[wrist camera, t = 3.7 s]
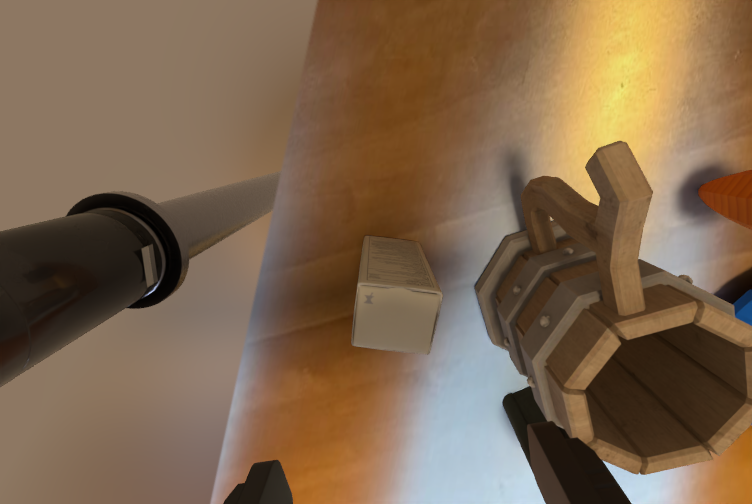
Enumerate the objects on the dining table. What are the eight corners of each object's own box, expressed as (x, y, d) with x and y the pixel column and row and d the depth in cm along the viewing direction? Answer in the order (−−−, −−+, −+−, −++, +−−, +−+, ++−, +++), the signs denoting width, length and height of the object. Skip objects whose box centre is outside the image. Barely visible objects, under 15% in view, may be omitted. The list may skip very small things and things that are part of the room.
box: (358, 279, 32) (344, 346, 21) (364, 233, 31) (353, 281, 20) (415, 286, 32) (431, 358, 21) (424, 241, 31) (444, 293, 20)
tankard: (632, 329, 33) (825, 476, 18) (497, 367, 34) (578, 529, 20) (595, 112, 27) (829, 77, 13) (438, 168, 29) (490, 193, 14)
